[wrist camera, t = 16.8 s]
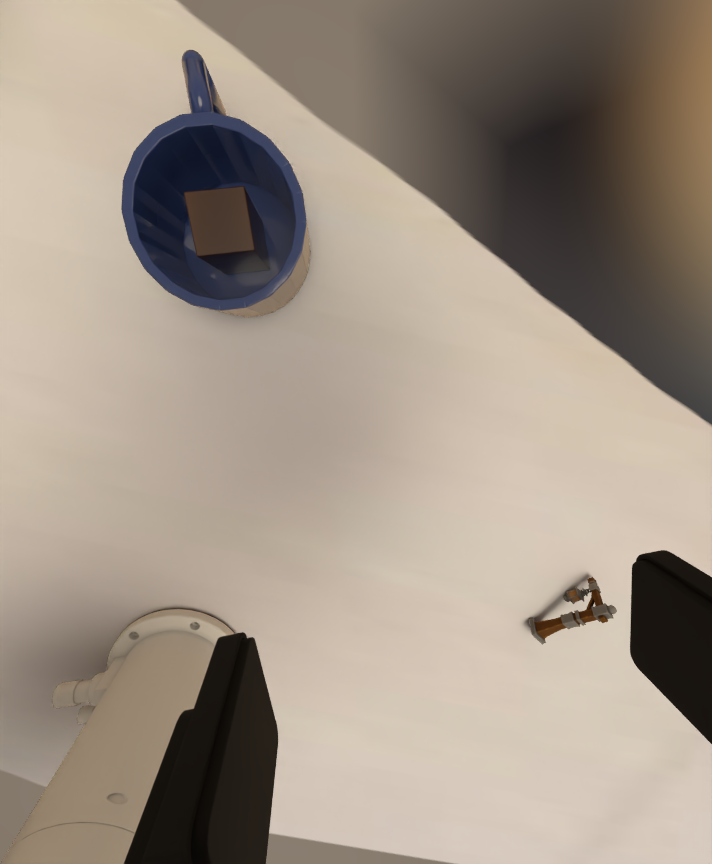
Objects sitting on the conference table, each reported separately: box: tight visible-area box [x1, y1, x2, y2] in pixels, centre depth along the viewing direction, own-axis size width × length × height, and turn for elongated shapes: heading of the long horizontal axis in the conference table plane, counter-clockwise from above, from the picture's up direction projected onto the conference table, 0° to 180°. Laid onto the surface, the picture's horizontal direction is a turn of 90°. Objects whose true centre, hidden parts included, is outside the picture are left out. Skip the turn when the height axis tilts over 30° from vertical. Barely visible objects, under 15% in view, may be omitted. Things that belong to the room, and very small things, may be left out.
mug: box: [122, 50, 311, 317], centre depth 25 cm, size 13×10×8 cm
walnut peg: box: [184, 186, 270, 275], centre depth 26 cm, size 3×3×7 cm
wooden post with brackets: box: [529, 577, 617, 644], centre depth 38 cm, size 2×8×4 cm, turn 135°
